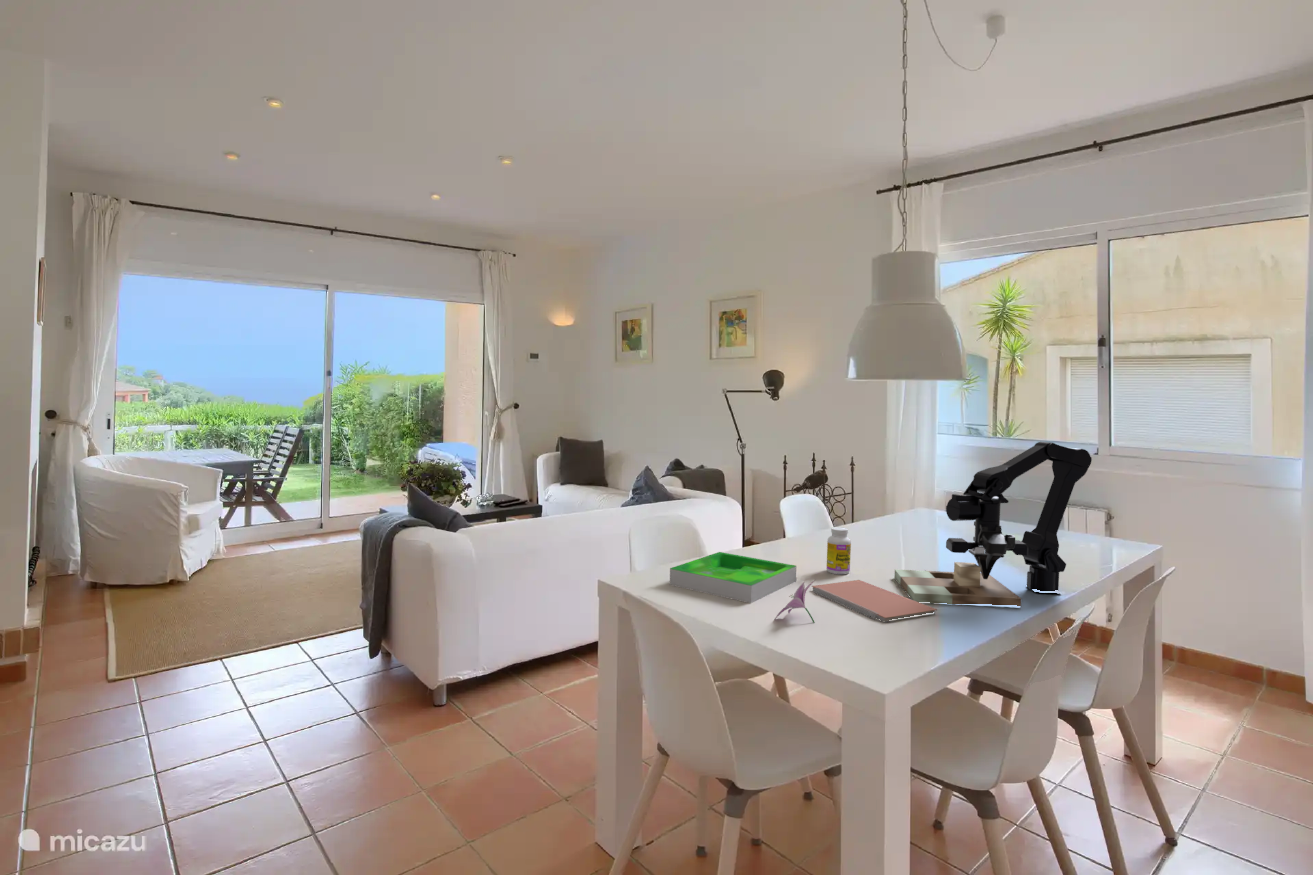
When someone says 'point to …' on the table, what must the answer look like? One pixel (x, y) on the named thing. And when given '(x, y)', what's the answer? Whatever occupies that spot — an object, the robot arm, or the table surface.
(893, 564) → the table surface
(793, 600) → the lily
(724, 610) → the table surface
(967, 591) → the trap deck
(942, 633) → the table surface
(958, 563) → the block
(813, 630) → the table surface
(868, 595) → the notebook
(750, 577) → the tray
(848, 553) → the supplement bottle
